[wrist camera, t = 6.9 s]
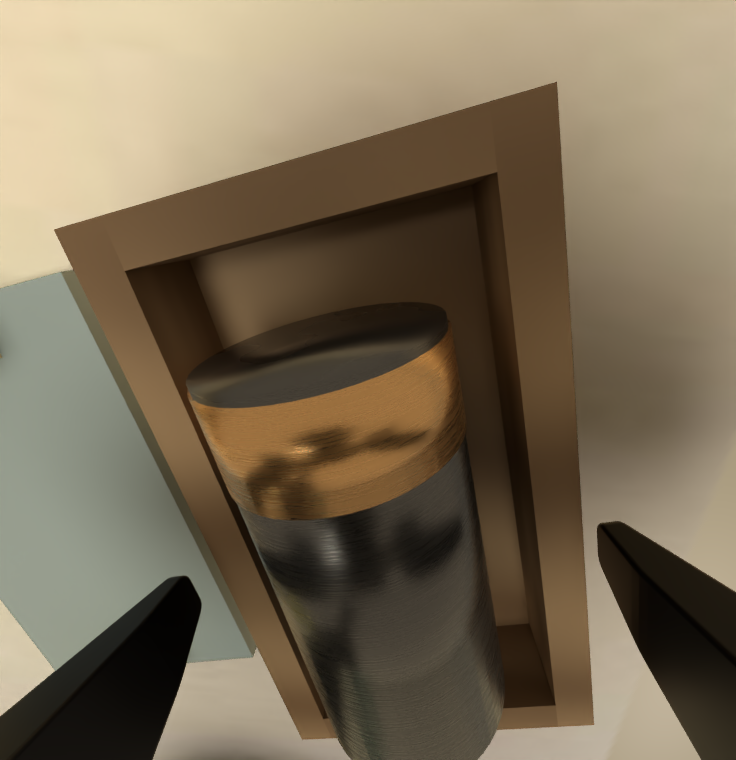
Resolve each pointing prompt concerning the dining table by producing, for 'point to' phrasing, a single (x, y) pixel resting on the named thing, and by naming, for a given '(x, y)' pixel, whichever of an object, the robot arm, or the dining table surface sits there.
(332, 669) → the battery cell
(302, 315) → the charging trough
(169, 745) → the dining table surface
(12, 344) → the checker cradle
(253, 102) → the dining table surface
